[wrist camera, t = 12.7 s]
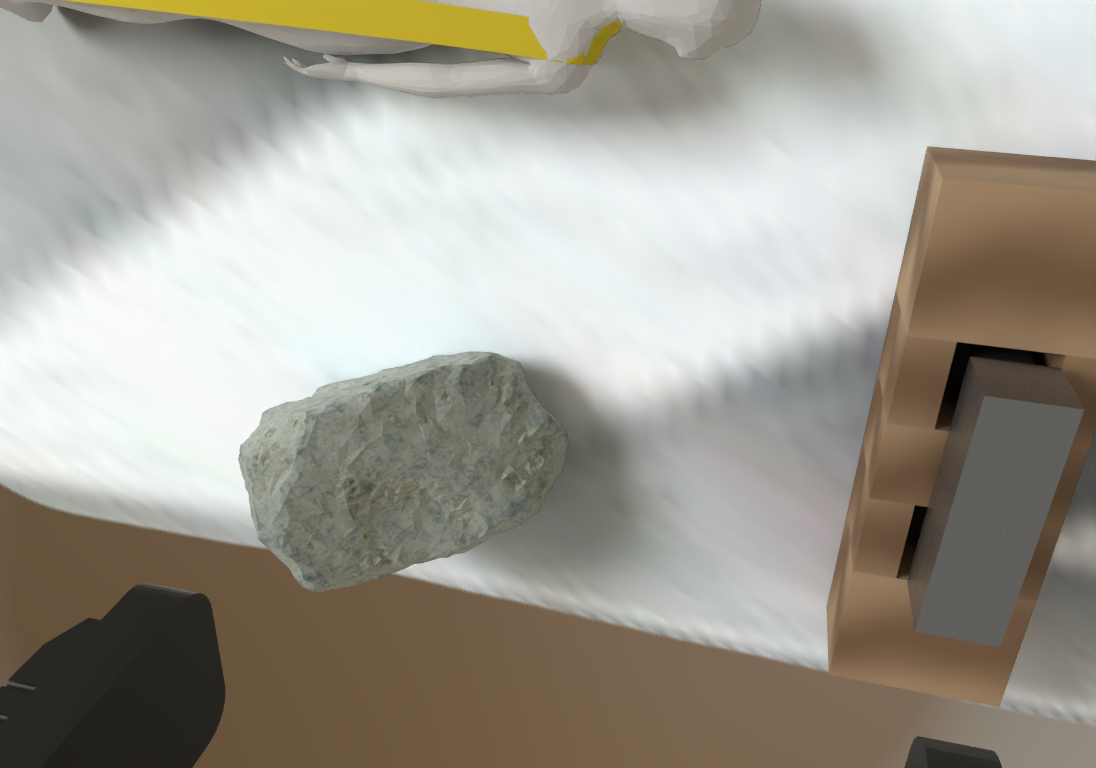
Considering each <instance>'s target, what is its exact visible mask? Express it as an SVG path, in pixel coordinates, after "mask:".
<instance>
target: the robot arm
mask: <svg viewBox="0 0 1096 768" xmlns="http://www.w3.org/2000/svg"><path fill="white" fill-rule="evenodd" d="M224 703H225V683H224V677H223V671H222V665H221V659H220V653H219V647H218V642H217V635H216V629H215V623H214V618H213V612H212V607H211V603H210V601H209V599H208V598H207V596H205V595H204V594H201V593H196V592H191V591H185V590H180V589H175V588H170V587H165V586H160V585H155V584H150V583H141V584H138V585H136V586H135V587H133V588H132V589H131V590H129V591H128V592H127V593H126V595H124V596H123V597H122V599H121V600H120V601H119V602H118V603H117V604H116V605H115V606H114V607H113V608H112V609H111V610H110V611H109V612H108V613H107V614H106V615H105V616H104V618H102V619H101V620H97V619H92V618H88V619H86V620H84V621H83V622H81V623H79V624H78V625H76V626H74V627H73V628H71V629H69V630H67V631H66V632H64V633H63V634H61V635H59V636H57V637H55V638H54V639H52V640H51V641H49V642H47V643H45V644H44V645H43V646H42V647H41V648H40V649H39V650H38V651H37V652H36V653H35V654H34V655H33V656H32V657H31V658H30V659H29V660H28V661H27V662H26V663H25V664H24V665H22V666H21V668H19V669H18V670H17V672H15V674H13V675H12V677H10V679H9V683H8V685H7V686H6V687H3V686H2V687H1V688H0V768H192V767H193V766H194V764H195V763H196V762H197V760H198V759H199V757H200V756H201V754H202V753H203V751H204V750H205V748H206V747H207V746H208V744H209V743H210V741H211V739H212V737H213V736H214V734H215V732H216V730H217V727H218V725H219V722H220V719H221V716H222V712H223V708H224ZM905 768H1002V766H1001V763H1000V760H999V758H998V756H997V754H996V753H995V752H994V751H991V750H986V749H980V748H976V747H970V746H966V745H960V744H955V743H950V742H945V741H939V740H935V739H930V738H925V737H920V736H917V737H916V738H915V739H914V741H913V743H912V745H911V748H910V751H909V754H908V758H907V761H906V764H905Z"/></svg>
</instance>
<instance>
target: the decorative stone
mask: <svg viewBox="0 0 1096 768" xmlns="http://www.w3.org/2000/svg"><path fill="white" fill-rule="evenodd" d="M567 435H568V434H567V433H566V431H565V430H564V428H563V427H562V425H561V424H560V423H559V422H558V421H557V420H556V419H555V417H554V416H553V415H552V414H550V413H548V412H547V411H546V410H545V409H544V407H543V406H542V405H541V403H540V402H539V401H538V400H537V399H536V398H535V397H534V395H533V393H532V391H531V389H530V387H529V385H528V382H527V380H526V377H525V373H524V370H523V368H522V366H521V365H520V363H519V362H516V361H514V360H511V359H508V358H506V357H503V356H501V355H499V354H496V353H491V352H466V353H459V354H455V355H438V356H432V357H430V358H428V359H426V360H421V361H418V362H415V363H412V364H408V365H405V366H403V367H395V368H390V369H384V370H382V371H380V372H378V373H376V374H373V375H369V376H365V377H361V378H356V379H351V380H346V381H340V382H336V383H332V384H328V385H324V386H322V387H320V388H318V389H317V390H316V392H315V393H314V395H313V396H312V397H307V398H305V399H302V400H299V401H294V402H286V403H283V404H281V405H278V406H275V407H273V408H270V409H268V410H266V411H265V412H263V413H262V417H261V421H260V425H259V426H258V427H257V429H256V430H255V431H254V432H253V433H252V434H251V436H250V438H248V439H247V440H246V441H245V442H244V443H243V444H242V445H241V446H240V454H239V458H238V460H239V464H240V468H241V472H242V476H243V478H244V480H245V488H246V490H247V491H248V493H249V502H250V508H251V516H252V519H253V521H254V524H255V528H256V532H257V536H258V539H259V540H260V541H261V542H262V543H263V544H264V545H266V546H267V547H268V548H269V549H270V551H271V552H272V553H273V554H274V555H275V556H277V557H278V558H279V559H280V560H281V561H282V562H283V563H285V565H286V566H287V567H288V568H289V569H290V570H291V572H292V574H293V576H294V577H295V579H296V580H297V581H298V582H299V583H300V585H301V586H302V587H303V588H306V589H308V590H311V591H313V592H323V591H326V590H328V589H336V588H342V587H346V586H352V585H356V584H360V583H363V582H366V581H368V580H374V579H381V578H383V577H385V576H387V575H389V574H392V573H395V572H397V571H400V570H402V569H404V568H407V567H409V566H411V565H413V564H417V563H424V562H428V561H431V560H434V559H437V558H447V557H450V556H452V555H454V554H459V553H464V552H466V551H468V550H470V549H472V548H473V547H475V546H477V545H478V544H480V543H481V542H483V541H484V540H486V539H488V538H489V537H490V536H492V535H493V534H497V533H500V532H503V531H506V530H509V529H512V528H514V527H516V526H518V525H520V524H522V523H524V522H525V521H526V520H527V519H528V518H529V517H531V516H532V515H533V514H535V513H537V512H539V511H540V507H541V504H542V501H543V499H544V497H545V496H546V494H547V492H548V490H551V488H552V486H553V483H554V481H555V478H556V476H558V475H559V474H560V473H561V472H562V471H563V470H564V466H565V457H566V452H567V447H568V444H567Z"/></svg>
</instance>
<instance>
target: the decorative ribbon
mask: <svg viewBox="0 0 1096 768" xmlns="http://www.w3.org/2000/svg"><path fill="white" fill-rule="evenodd" d="M53 5H55V6H61V7H67V8H70V9H74V10H78V11H81V12H85V13H89V14H92V15H97V16H101V17H105V18H110V19H114V20H119V21H123V22H132V23H141V24H158V23H164V22H170V21H175V20H181V19H197V18H203V19H209V20H215V21H219V22H223V23H226V24H230V25H233V26H236V27H239V28H242V29H244V30H247V31H250V32H253V33H255V34H258V35H261V36H264V37H267V38H270V39H273V40H276V41H280V42H283V43H286V44H289V45H292V46H295V47H298V48H302V49H305V50H308V51H312V52H318V53H324V55H323V57H324V59H326V60H327V61H328V62H329V63H324V64H315V65H312V66H306V65H304V64H303V63H301V62H300V61H298V60H296V59H295V58H292V59H293V62H292V61H291V60H290V59H288V58H286V57H284V59H285V60H286V61H287V62H288V63H286V62H285V63H286V64H287V65H289V66H290V67H291V68H293V69H294V70H296V71H297V72H300V73H302V74H304V75H306V76H310V77H314V78H322V79H333V80H344V81H361V82H366V83H369V84H372V85H376V86H381V87H385V88H389V89H393V90H397V91H402V92H406V93H410V94H415V95H421V96H427V97H433V98H443V97H456V96H483V95H498V94H512V93H533V94H562V93H568V92H569V91H571V90H573V89H575V88H577V87H578V86H579V85H580V84H581V83H582V81H583V80H584V79H585V77H586V76H587V75H588V73H589V72H590V69H591V65H593V64H595V63H596V62H597V60H598V58H599V57H601V53H602V50H603V48H604V46H605V44H606V42H607V41H608V40H609V38H611V37H612V36H614V35H615V34H616V33H618V32H619V30H620V28H627V29H630V30H633V31H635V32H637V33H640V34H642V35H645V36H649V37H652V38H656V39H659V40H662V41H664V42H665V43H667V44H669V45H671V46H673V47H674V48H675V49H676V51H677V53H678V55H679V57H682V58H684V59H699V60H703V59H705V58H707V57H709V56H710V55H711V54H713V53H715V52H716V51H718V50H720V49H722V48H725V47H728V46H731V45H735V44H737V43H738V42H740V41H741V40H742V39H744V38H745V37H746V36H747V35H749V34H750V32H751V31H752V29H753V27H754V26H755V24H756V21H757V17H758V13H759V10H760V6H761V0H0V7H1V8H3V9H5V10H8V11H10V12H12V13H14V14H16V15H18V16H20V17H22V18H24V19H26V20H28V21H33V22H40V23H41V22H42V21H43V20H44V19H45V18H46V17H47V16H48V14H49V13H50V12H51V10H52V6H53ZM432 44H437V45H445V46H453V47H460V48H468V49H475V50H483V51H491V52H498V53H504V54H506V55H507V56H509V57H511V58H499V59H492V60H485V61H478V62H470V63H459V64H443V63H385V64H367V63H353V62H349V61H347V60H345V59H343V58H338V57H335V56H333V55H360V54H395V53H400V52H405V51H410V50H416V49H421V48H424V47H427V46H430V45H432ZM331 54H333V55H331Z"/></svg>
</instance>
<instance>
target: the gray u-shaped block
mask: <svg viewBox="0 0 1096 768" xmlns="http://www.w3.org/2000/svg"><path fill="white" fill-rule="evenodd" d="M951 370H952V373H953V376H954V380H955V383H956V386H957V389H958V392H959V398H958V401H957V405H956V408H955V412H954V415H953V419H952V423H951V426H950V430H949V433H948V437H947V440H946V444H945V448H944V451H943V455H942V458H941V462H940V465H939V469H938V473H937V476H936V480H935V483H934V487H933V490H932V494H931V497H930V501H929V505H928V507H924V506H917V505H915V507H914V511H913V521H914V526H915V532H916V537H917V543H918V544H917V547H916V551H915V555H914V558H913V562H912V565H911V569H910V572H909V576H908V579H907V584H908V590H909V597H910V603H911V610H912V616H913V622H914V629H915V632H920V633H925V634H930V635H936V636H941V637H947V638H952V639H958V640H963V641H969V642H974V643H979V644H985V645H990V646H996V647H1001V644H1002V641H1003V639H1004V636H1005V633H1006V630H1007V627H1008V624H1009V622H1010V619H1011V616H1012V613H1013V610H1014V607H1015V605H1016V602H1017V599H1018V596H1019V593H1020V590H1021V588H1022V585H1023V582H1024V579H1025V576H1026V574H1027V571H1028V568H1029V565H1030V562H1031V559H1032V557H1033V554H1034V551H1035V548H1036V545H1037V542H1038V540H1039V537H1040V534H1041V531H1042V528H1043V525H1044V523H1045V520H1046V517H1047V514H1048V511H1049V508H1050V506H1051V503H1052V500H1053V497H1054V494H1055V491H1056V489H1057V486H1058V483H1059V480H1060V477H1061V474H1062V472H1063V469H1064V466H1065V463H1066V460H1067V457H1068V455H1069V452H1070V449H1071V446H1072V443H1073V441H1074V438H1075V435H1076V432H1077V429H1078V426H1079V424H1080V421H1081V418H1082V415H1083V412H1084V408H1083V406H1082V404H1081V402H1080V401H1079V399H1078V397H1077V395H1076V393H1075V391H1074V390H1073V388H1072V386H1071V384H1070V382H1069V380H1068V379H1067V377H1066V375H1065V373H1064V371H1063V369H1062V368H1055V367H1047V366H1040V365H1035V363H1034V361H1033V359H1032V357H1031V355H1030V353H1029V351H1028V350H1020V349H1012V348H1003V347H995V346H987V345H979V344H970V343H962V342H957V344H956V348H955V351H954V355H953V359H952V363H951Z"/></svg>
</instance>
